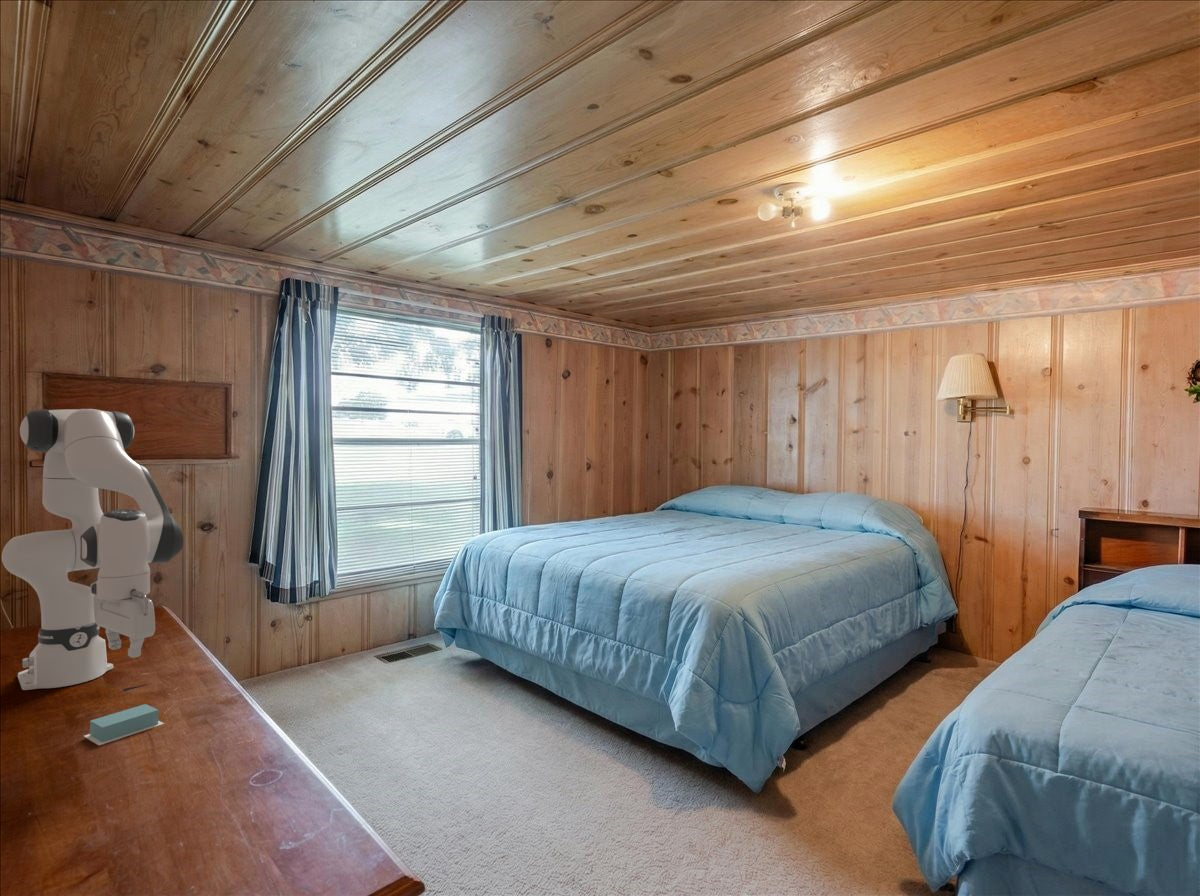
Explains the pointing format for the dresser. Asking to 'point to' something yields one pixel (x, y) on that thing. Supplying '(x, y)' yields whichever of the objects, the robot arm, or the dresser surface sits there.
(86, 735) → the mat
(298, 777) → the dresser surface
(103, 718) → the teal rectangular block
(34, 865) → the dresser surface
